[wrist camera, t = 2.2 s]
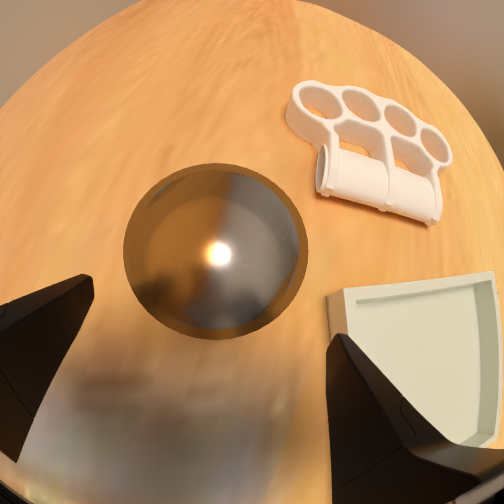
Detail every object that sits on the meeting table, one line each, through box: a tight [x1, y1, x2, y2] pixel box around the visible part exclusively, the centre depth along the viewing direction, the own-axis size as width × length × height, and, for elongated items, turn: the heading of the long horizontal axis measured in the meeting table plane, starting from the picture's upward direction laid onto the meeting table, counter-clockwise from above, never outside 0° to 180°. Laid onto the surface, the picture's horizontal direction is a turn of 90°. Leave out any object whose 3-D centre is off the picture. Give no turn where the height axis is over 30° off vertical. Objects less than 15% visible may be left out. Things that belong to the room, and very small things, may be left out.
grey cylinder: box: [123, 163, 308, 340], centre depth 12 cm, size 4×4×13 cm
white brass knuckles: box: [285, 80, 452, 226], centre depth 23 cm, size 3×18×15 cm
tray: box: [326, 271, 503, 448], centre depth 16 cm, size 17×17×3 cm
